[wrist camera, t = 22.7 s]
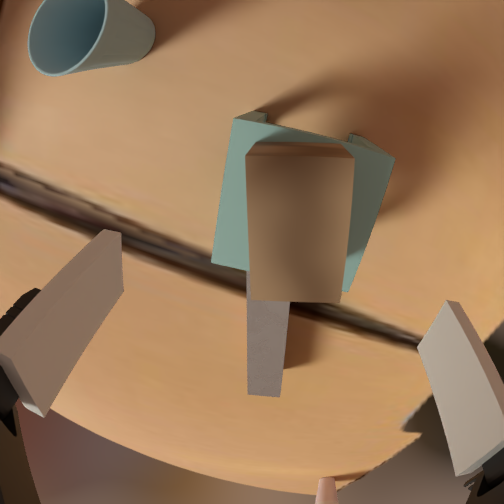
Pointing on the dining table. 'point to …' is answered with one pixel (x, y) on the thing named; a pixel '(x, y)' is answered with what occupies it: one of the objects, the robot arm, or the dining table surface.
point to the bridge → (257, 130)
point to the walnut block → (298, 220)
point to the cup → (87, 35)
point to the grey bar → (265, 344)
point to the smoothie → (326, 491)
